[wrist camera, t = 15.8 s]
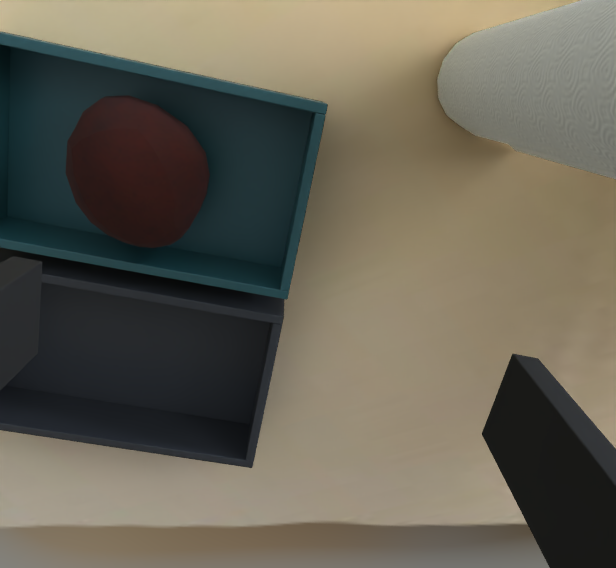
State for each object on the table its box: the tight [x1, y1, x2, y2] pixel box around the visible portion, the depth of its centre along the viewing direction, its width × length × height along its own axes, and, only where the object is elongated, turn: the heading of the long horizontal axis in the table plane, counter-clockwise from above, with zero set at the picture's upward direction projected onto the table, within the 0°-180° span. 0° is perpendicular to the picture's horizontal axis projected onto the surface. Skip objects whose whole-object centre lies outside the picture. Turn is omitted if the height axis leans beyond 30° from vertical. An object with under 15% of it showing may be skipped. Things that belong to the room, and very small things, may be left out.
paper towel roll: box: [437, 0, 616, 179], centre depth 25 cm, size 7×6×21 cm
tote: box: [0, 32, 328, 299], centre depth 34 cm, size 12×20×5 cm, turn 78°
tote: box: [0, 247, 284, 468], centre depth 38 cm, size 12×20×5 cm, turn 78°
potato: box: [65, 95, 210, 248], centre depth 32 cm, size 8×9×8 cm
